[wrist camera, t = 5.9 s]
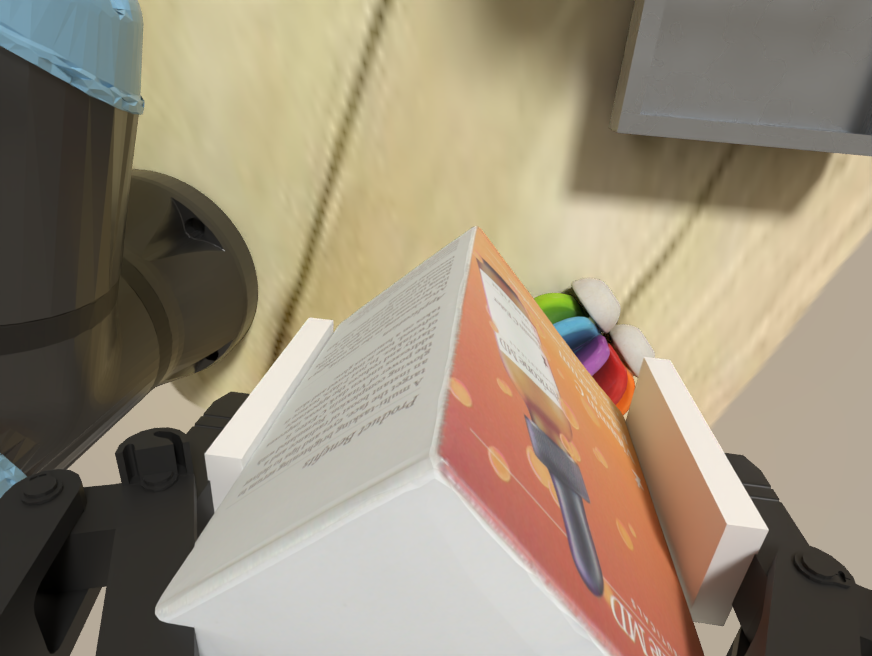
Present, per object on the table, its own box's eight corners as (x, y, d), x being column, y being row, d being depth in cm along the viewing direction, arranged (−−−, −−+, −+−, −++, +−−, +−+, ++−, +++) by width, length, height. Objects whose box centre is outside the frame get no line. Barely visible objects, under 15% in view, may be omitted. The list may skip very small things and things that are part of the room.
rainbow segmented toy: (560, 411, 42) (570, 474, 36) (484, 319, 39) (481, 369, 33) (660, 354, 39) (691, 411, 33) (585, 251, 36) (603, 291, 30)
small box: (625, 413, 17) (772, 820, 8) (483, 487, 19) (468, 885, 10) (477, 215, 15) (440, 455, 6) (333, 320, 17) (129, 630, 8)
